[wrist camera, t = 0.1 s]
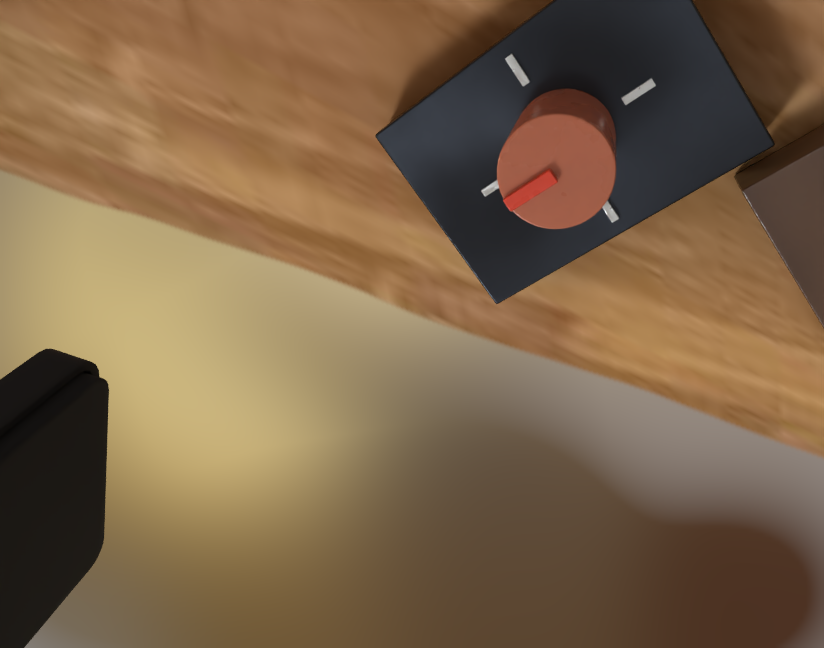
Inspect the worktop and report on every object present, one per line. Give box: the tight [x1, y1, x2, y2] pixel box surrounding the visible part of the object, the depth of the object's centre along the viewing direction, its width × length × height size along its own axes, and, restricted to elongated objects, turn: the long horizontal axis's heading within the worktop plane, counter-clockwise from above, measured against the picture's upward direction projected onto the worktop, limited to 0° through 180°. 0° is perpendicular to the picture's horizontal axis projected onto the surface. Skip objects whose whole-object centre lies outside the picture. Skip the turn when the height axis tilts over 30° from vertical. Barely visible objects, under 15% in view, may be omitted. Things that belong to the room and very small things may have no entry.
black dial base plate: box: [375, 0, 775, 304], centre depth 34 cm, size 14×10×3 cm
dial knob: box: [497, 89, 616, 229], centre depth 31 cm, size 4×4×6 cm
